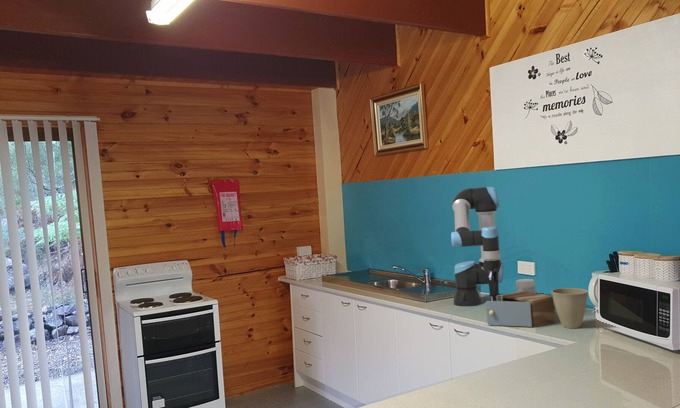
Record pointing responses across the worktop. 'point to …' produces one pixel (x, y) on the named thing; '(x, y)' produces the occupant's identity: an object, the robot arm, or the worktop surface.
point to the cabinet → (535, 306)
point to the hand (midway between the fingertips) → (495, 309)
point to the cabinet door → (509, 313)
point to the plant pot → (570, 306)
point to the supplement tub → (525, 285)
